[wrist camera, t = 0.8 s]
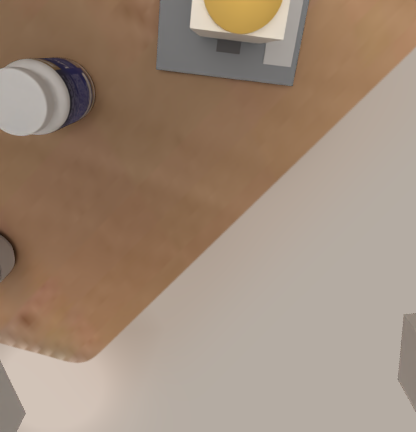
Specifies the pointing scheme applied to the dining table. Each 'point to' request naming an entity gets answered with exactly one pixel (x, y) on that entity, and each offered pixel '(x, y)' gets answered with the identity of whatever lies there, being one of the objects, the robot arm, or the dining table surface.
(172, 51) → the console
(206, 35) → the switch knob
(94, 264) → the dining table surface
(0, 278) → the energy drink can
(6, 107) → the pill bottle
